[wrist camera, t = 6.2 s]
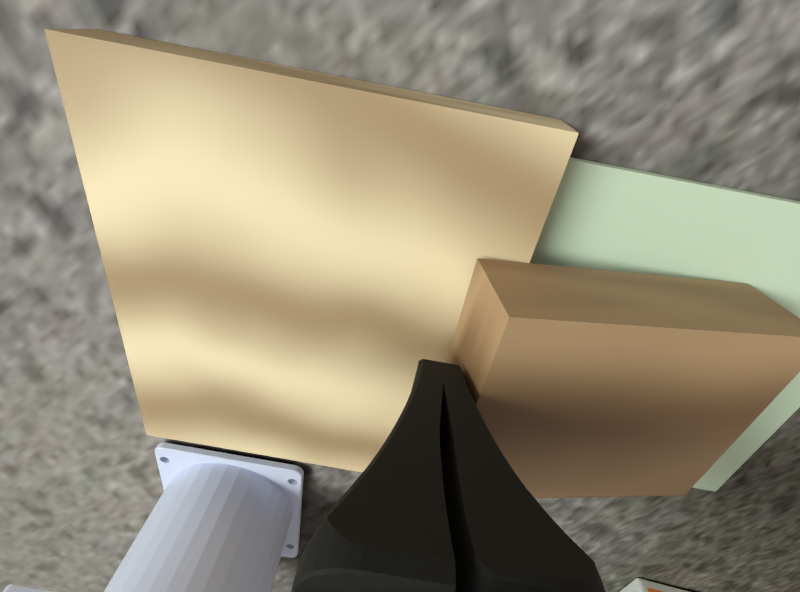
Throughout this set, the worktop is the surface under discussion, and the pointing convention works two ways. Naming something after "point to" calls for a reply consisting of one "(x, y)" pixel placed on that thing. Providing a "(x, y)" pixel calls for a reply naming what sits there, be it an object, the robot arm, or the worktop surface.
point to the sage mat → (681, 252)
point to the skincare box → (649, 587)
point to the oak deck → (290, 234)
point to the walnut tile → (618, 373)
